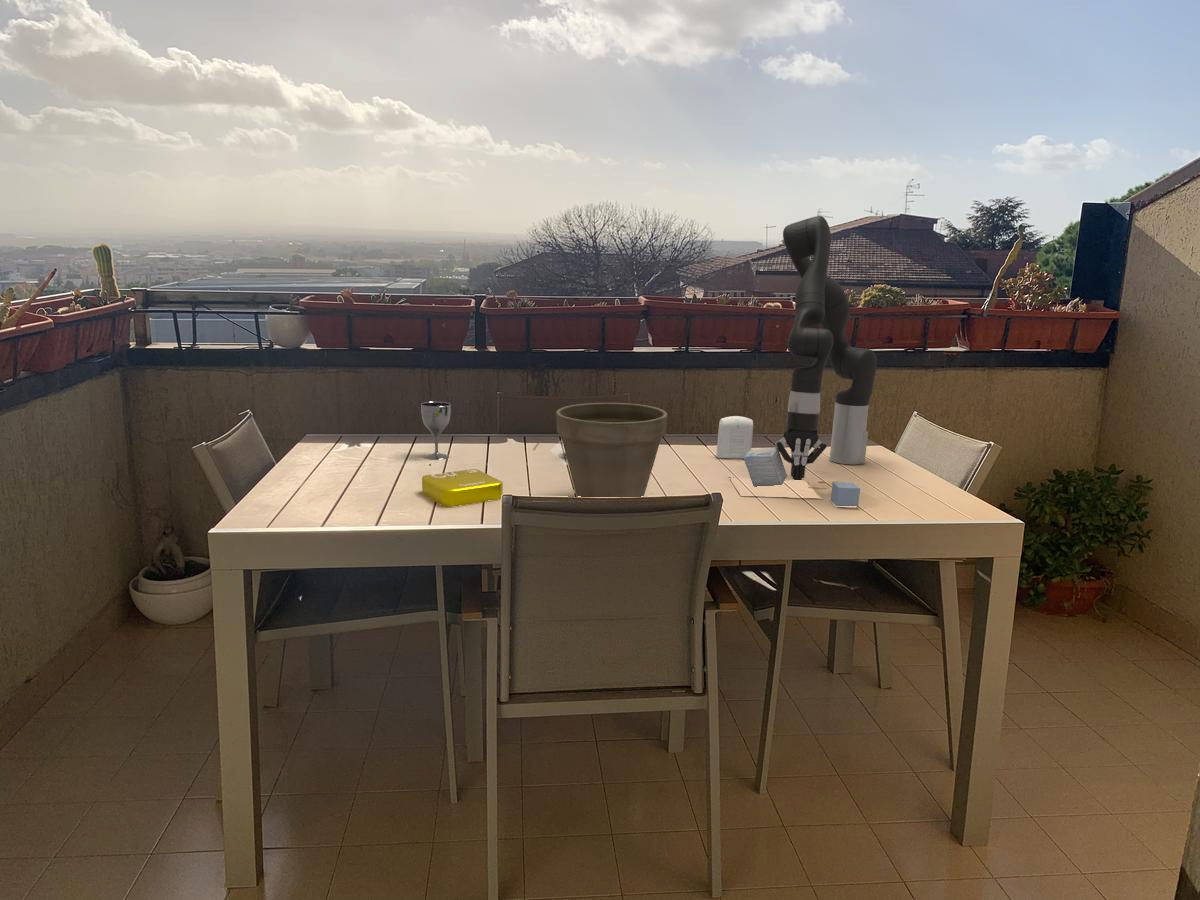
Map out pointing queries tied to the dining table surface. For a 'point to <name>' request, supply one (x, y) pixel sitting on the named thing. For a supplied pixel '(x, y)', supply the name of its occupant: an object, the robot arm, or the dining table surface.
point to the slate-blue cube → (845, 494)
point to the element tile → (461, 487)
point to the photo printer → (734, 437)
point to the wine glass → (436, 423)
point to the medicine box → (765, 467)
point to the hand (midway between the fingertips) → (796, 479)
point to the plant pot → (610, 446)
